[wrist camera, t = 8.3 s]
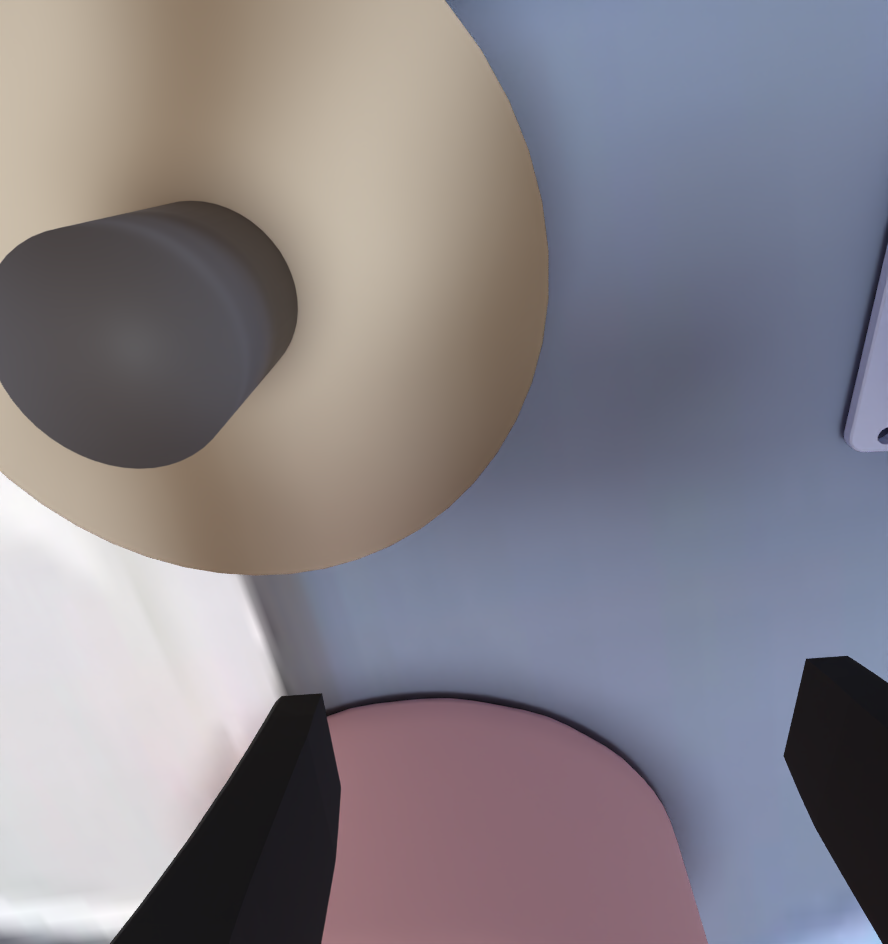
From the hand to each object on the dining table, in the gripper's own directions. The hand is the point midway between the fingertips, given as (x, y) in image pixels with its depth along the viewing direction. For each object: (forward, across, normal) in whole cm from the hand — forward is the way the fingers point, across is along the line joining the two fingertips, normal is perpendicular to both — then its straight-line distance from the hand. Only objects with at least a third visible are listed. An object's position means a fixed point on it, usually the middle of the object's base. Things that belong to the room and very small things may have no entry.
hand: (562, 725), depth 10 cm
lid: (+6, +5, -6) cm, 10 cm away
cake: (+11, +3, +20) cm, 23 cm away
